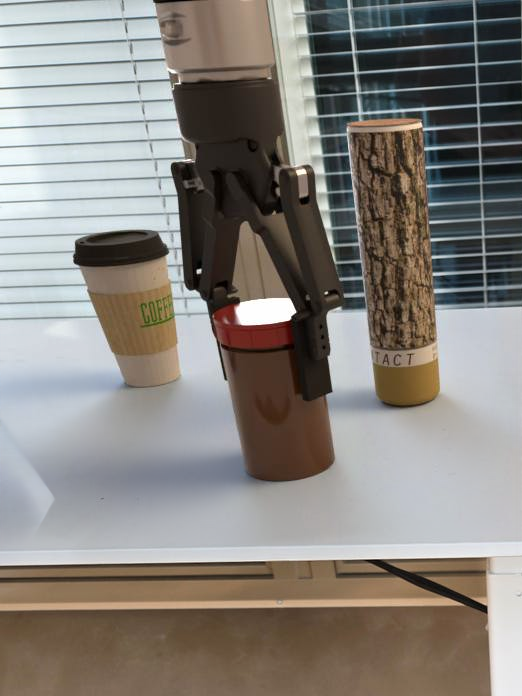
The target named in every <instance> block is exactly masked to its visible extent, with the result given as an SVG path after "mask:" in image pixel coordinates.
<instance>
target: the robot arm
mask: <svg viewBox="0 0 522 696" xmlns="http://www.w3.org/2000/svg"><path fill="white" fill-rule="evenodd" d="M266 1H267V0H152V2H153V4H154V3H155V4H154V6H155V7H154V8H155V13H156V17H157V22H158V29H159V33H160V38H161V42H162V47H163V48H162V49H163V53H164V58H165V63H166V68H167V70H168V71H169V72H170V73H171V74H177V76H178V81H179V82H175V83H173V84H172V87H173V88H170V91H171V96H172V101H173V106H174V111H175V116H176V117H175V118H176V121H177V125H178V132H179V135H180V137H181V139H183V141H184V142H186V143H189V144H194V150H195V151H194V152H195V153H194V158H192V159H186V160H178V161H172V162H171V163H170V173H171V176H172V179H173V184H174V187H175V192H176V195H177V207H178V220H179V233H180V245H181V247H180V249H181V261H182V270H183V271H182V273H183V285H184V286H185V288H186V289H187V290H188V291H189V292H192V291H196V292H197V293H199V296H200V298H201V299H202V301H204V302H205V303H206V309H207V312H208V318H209V323H210V327H211V331H212V334H213V337H214V338H215V342H216V346H217V350H218V355H219V360H220V365H221V370H222V375H223V379H224V380H223V381H226V382H228V381H227V376H226V371H225V366H224V362H223V357H222V352H221V347H220V342H219V341H218V340H216V335H215V330H214V322H213V314H214V313H215V312H217V311H218V310H220V309H222V308H224V307H227V306H230V305H234V304H237V303H241V299H240V297H239V296H235V295H234V294H237V293H238V291H239V289H238V288H237V287H236V286H235V285H234V284H233V281H234V276H235V268H236V260H237V253H238V246H239V239H240V232H241V226H242V224H244V223H245V222H247V223H248V226H249V228H250V229H251V231H252V233H254V234H256V235H258V236H259V237H260V239H261V241H262V243H263V245H264V247H265V249H266V251H267V253H268V256H269V258H270V259H271V262H272V265H273V266H274V269H275V271H276V273H277V274H278V277H279V279H280V281H281V282H282V285H283V288H284V290H285V292H286V294H287V295H288V299H290V300H291V302H292V304H293V306H294V308H295V310H296V313H295V314H293V315H292V316H291V319H290V323H291V329H292V335H293V342H294V348H295V354H296V360H297V367H298V373H299V379H300V385H301V392H302V398H303V400H304V401H308V402H310V401H312V400H315V399H317V398H320V397H322V396H324V395H326V396H327V395H329V394H333V385H332V377H331V371H330V362H329V357H330V356H331V351H332V349H331V342H330V341H331V340H330V334H329V327H328V326H329V325H328V320H327V319H328V318H327V317H328V313H329V312H330V311H333V310H336V309H338V308H341V307H343V306H344V305H345V304H346V303H345V302H346V299H345V295H344V294H345V293H344V291H343V288H342V287H343V286H342V284H341V280H340V277H339V274H338V271H337V266H336V263H335V259H334V256H333V253H332V248H331V245H330V241H329V239H328V235H327V232H326V228H325V224H324V220H323V217H322V215H321V211H320V208H319V204H318V201H317V199H318V198H317V185H316V173H315V170H314V167H312V165H310V164H301V165H296V166H293V165H289V164H286V163H284V160H283V158H282V157H281V154H280V151H279V149H278V138H279V137H280V136H281V135H282V134H283V132H284V129H285V124H284V123H285V122H284V119H283V117H284V116H283V110H282V103H281V97H280V89H279V83H278V82H275V78H274V77H269V72H268V69H271V68H273V67H274V66H275V64H276V59H275V51H274V45H273V40H272V33H271V26H270V21H269V20H270V19H269V15H268V9H267V2H266ZM198 270H200V272H198ZM230 295H233V296H230ZM229 296H230V297H229ZM307 296H308V300H307Z"/></svg>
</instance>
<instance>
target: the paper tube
mask: <svg viewBox="0 0 522 696" xmlns="http://www.w3.org/2000/svg"><path fill="white" fill-rule="evenodd" d="M422 121H423V119H421V118H382V119H367V120H358V121H351V122H348V123H346V137H347V147H348V155H349V157H348V158H349V167H350V174H351V183H352V192H353V193H352V194H353V202H354V211H355V212H354V213H355V220H356V229H357V238H358V246H359V256H360V265H361V274H362V275H361V276H362V282H363V283H362V284H363V291H364V292H363V293H364V299H365V300H364V302H365V310H366V320H367V321H366V322H367V331H368V339H369V346H370V356H371V362H372V363H371V364H372V373H373V381H374V390H375V395H376V397H377V398H378V399H379V400H380V401H381V402H383V403H385V404H388V405H391V406H400V407H401V406H403V407H404V406H406V407H407V406H416V405H420V404H421V405H422V404H425V403H428V402H430V401H432V400H434V399H435V398H436V397H438V395H439V393H440V391H441V381H440V380H441V379H440V367H439V347H438V332H437V318H436V305H435V304H436V303H435V302H436V301H435V288H434V273H433V261H432V260H433V259H432V246H431V245H432V243H431V231H430V230H431V228H430V216H429V215H430V214H429V213H430V212H429V200H428V186H427V185H428V184H427V183H428V182H427V170H426V155H425V142H424V141H425V140H424V139H425V138H424V126H423V123H422Z"/></svg>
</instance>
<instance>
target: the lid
mask: <svg viewBox="0 0 522 696" xmlns="http://www.w3.org/2000/svg"><path fill="white" fill-rule="evenodd" d="M295 313H296V310H295V308H294V306H293V304H292V302H291V300H290V298H289V297H288V298H285V297H284V298H283V297H282V298H281V297H280V298H279V297H278V298H276V297H275V298H262V299H253V300H248V301H243V302H240V303H237V304H234V305H230V306H227V307H224V308H222V309H220V310H218V311H217V312H215V313H214V314H213V322H214V330H215V335H216V338H215V341H216V340H218V341H219V342H220V343H222V344H224V345H227V346H231V347H238V348H265V347H275V346H281V345H287V344H291V343H294V342H293V335H292V329H291V323H290V319H291V316H292V315H293V314H295Z"/></svg>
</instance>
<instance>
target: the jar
mask: <svg viewBox="0 0 522 696" xmlns="http://www.w3.org/2000/svg"><path fill="white" fill-rule="evenodd" d="M220 347H221V352H222V357H223V362H224V366H225V371H226V376H227V381H226V382H227V385H228V391H229V394H230V399H231V404H232V409H233V414H234V420H235V424H236V425H235V426H236V429H237V433H238V438H239V443H240V448H241V454H242V458H243V463H244V468H245V471H246V472H247V474H248V475H250V476H252V477H253V478H255V479H260V480H263V481H270V482H271V481H272V482H286V481H296V480H301V479H306V478H309V477H313V476H315V475H318V474H320V473H323V472H324V471H326V470H328V469H329V468H330V467H331V466H333V464H334V463H335V461H336V455H335V454H336V453H335V448H334V439H333V433H332V427H331V420H330V413H329V412H330V411H329V406H328V399H327V395H324V396H322V397H320V398H317V399H315V400H312V401H310V402H308V401H304V400H303V398H302V392H301V385H300V379H299V373H298V367H297V360H296V354H295V348H294V343H291V344H287V345H281V346H275V347H265V348H238V347H231V346H227V345H224V344H222V343H220Z"/></svg>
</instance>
